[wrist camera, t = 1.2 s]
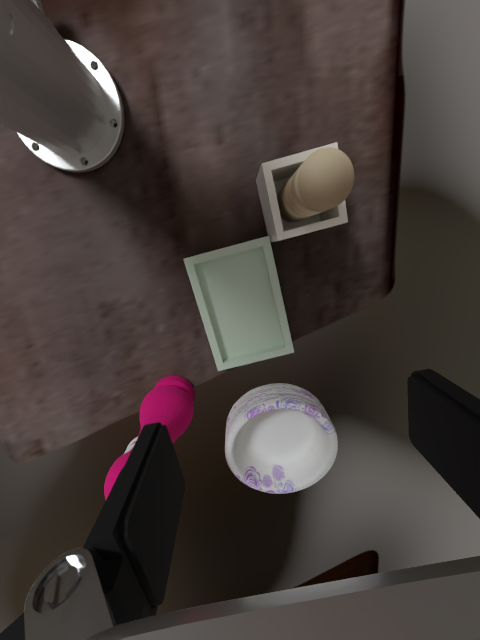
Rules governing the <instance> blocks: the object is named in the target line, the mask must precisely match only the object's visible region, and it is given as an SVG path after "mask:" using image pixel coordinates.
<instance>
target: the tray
mask: <svg viewBox="0 0 480 640" xmlns="http://www.w3.org/2000/svg"><path fill="white" fill-rule="evenodd" d="M183 260H184V263H185V266H186V269H187V273H188V276H189V279H190V282H191V286H192V289H193V292H194V295H195V298H196V302H197V305H198V308H199V311H200V314H201V318H202V321H203V324H204V327H205V331H206V334H207V337H208V340H209V343H210V347H211V350H212V353H213V356H214V359H215V363H216V366H217V369H218V371H221V370H226V369H230V368H234V367H238V366H242V365H246V364H250V363H253V362H258V361H262V360H266V359H270V358H274V357H278V356H282V355H286V354H290V353H294V349H293V344H292V340H291V335H290V330H289V326H288V321H287V317H286V312H285V307H284V303H283V298H282V293H281V289H280V284H279V280H278V275H277V270H276V266H275V261H274V257H273V252H272V247H271V243H270V238H269V236H266V237H262V238H259V239H255V240H251V241H247V242H244V243H240V244H236V245H233V246H229V247H225V248H221V249H218V250H214V251H210V252H207V253H203V254H199V255H196V256H192V257H188V258H184V259H183Z"/></svg>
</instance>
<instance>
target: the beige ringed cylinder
mask: <svg viewBox="0 0 480 640" xmlns="http://www.w3.org/2000/svg"><path fill="white" fill-rule="evenodd" d="M353 182H354V169H353V166H352V163H351V161H350V159H349V158H348V156H347V155H346V154H345V153H344V152H342V151H341V150H339V149H336V148H331V147H326V148H321V149H318V150H316V151H314V152H313V153H311V154H310V155H309V156H308V157H307V158H306V160H305V161H304V162H303V163H302V164H301V166H300V167H299V168H298V169H297V170H296V172H295V173H294V174H293V175H292V177H291V178H290V179H289V180H288V181H287V183H286V184H285V185H284V186H283V187H282V189H281V190H280V191H279V193H278V195H277V201H278V206H279V211H280V216H281V218H282V219H283V220H285V221H287V222H298V221H301V220H303V219H306V218H308V217H311V216H313V215H316V214H319V213H321V212H324V211H326V210H329V209H331V208H334V207H336V206H338V205H339V204H341V203H342V202H343V201H344V200H345V199H346V198H347V196H348V195H349V193H350V192H351V189H352V186H353Z"/></svg>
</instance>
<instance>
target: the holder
mask: <svg viewBox="0 0 480 640" xmlns="http://www.w3.org/2000/svg"><path fill="white" fill-rule="evenodd" d="M326 147H331V148H336V149H338V144H337V142H336V143H333V144H329V145H326V146H322V147H318V148H315V149H311V150H308V151H304V152H301V153H297V154H294V155H290V156H287V157H283V158H280V159H276V160H273V161H269V162H266V163H262V164H261V167H260V170H259V173H258V176H257V179H256V183H257V188H258V192H259V197H260V202H261V206H262V211H263V215H264V220H265V225H266V229H267V234H268V236H269V238H270V242H275V241H280V240H284V239H288V238H291V237H295V236H299V235H303V234H306V233H310V232H314V231H318V230H321V229H325V228H329V227H333V226H336V225H340V224H344V223H347V222H348V218H347V211H346V203H345V200H344V201H343V202H342V203H341V204H339V205H338V206H336V207H334V208H331V209H329V210H326V211H324V212H321V213H319V214H316V215H313V216H311V217H308V218H306V219H303V220H301V221H298V222H287V221H285V220H283V219H282V218H281V216H280V211H279V206H278V201H277V195H278V193H279V191H280V190H281V189H282V187H283V186H284V185H285V184H286V183H287V181H288V180H289V179H290V178H291V177H292V175H293V174H294V173H295V172H296V170H297V169H298V168H299V167H300V166H301V164H302V163H303V162H304V161H305V160H306V158H307V157H308V156H309V155H310V154H311V153H313V152H314V151H316V150H318V149H321V148H326Z"/></svg>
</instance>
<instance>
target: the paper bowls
mask: <svg viewBox="0 0 480 640" xmlns="http://www.w3.org/2000/svg"><path fill="white" fill-rule="evenodd" d="M337 451H338V438H337V434H336V430H335V428H334V426H333V424H332V422H331V420H330V418H329V416H328V414H327V412H326V411H325V409H324V407H323V405H322V404H321V403H320V401H319V400H318V399H317V398H316V397H315V396H314V395H313V394H311V393H310V392H308V391H307V390H305V389H303V388H300V387H298V386H295V385H291V384H284V383H275V384H268V385H264V386H260V387H257V388H254V389H252V390H250V391H249V392H247V393H246V394H244V395H243V396H242V397H240V399H239V400H238V401H237V402H236V403H235V404H234V405H233V407H232V409H231V410H230V413H229V415H228V418H227V423H226V435H225V456H226V460H227V463H228V465H229V467H230V469H231V470H232V472H233V473H234V474H235V476H236V477H237V478H238V479H239V480H241V482H243V483H244V484H246V485H248V486H249V487H251V488H254V489H257V490H259V491H263V492H267V493H275V494H279V493H280V494H281V493H291V492H296V491H299V490H302V489H305V488H307V487H309V486H311V485H313V484H314V483H316V482H317V481H319V480H320V479H321V478H322V477H324V475H326V474H327V472H328V471H329V470H330V468H331V467H332V465H333V463H334V461H335V458H336V455H337Z"/></svg>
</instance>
